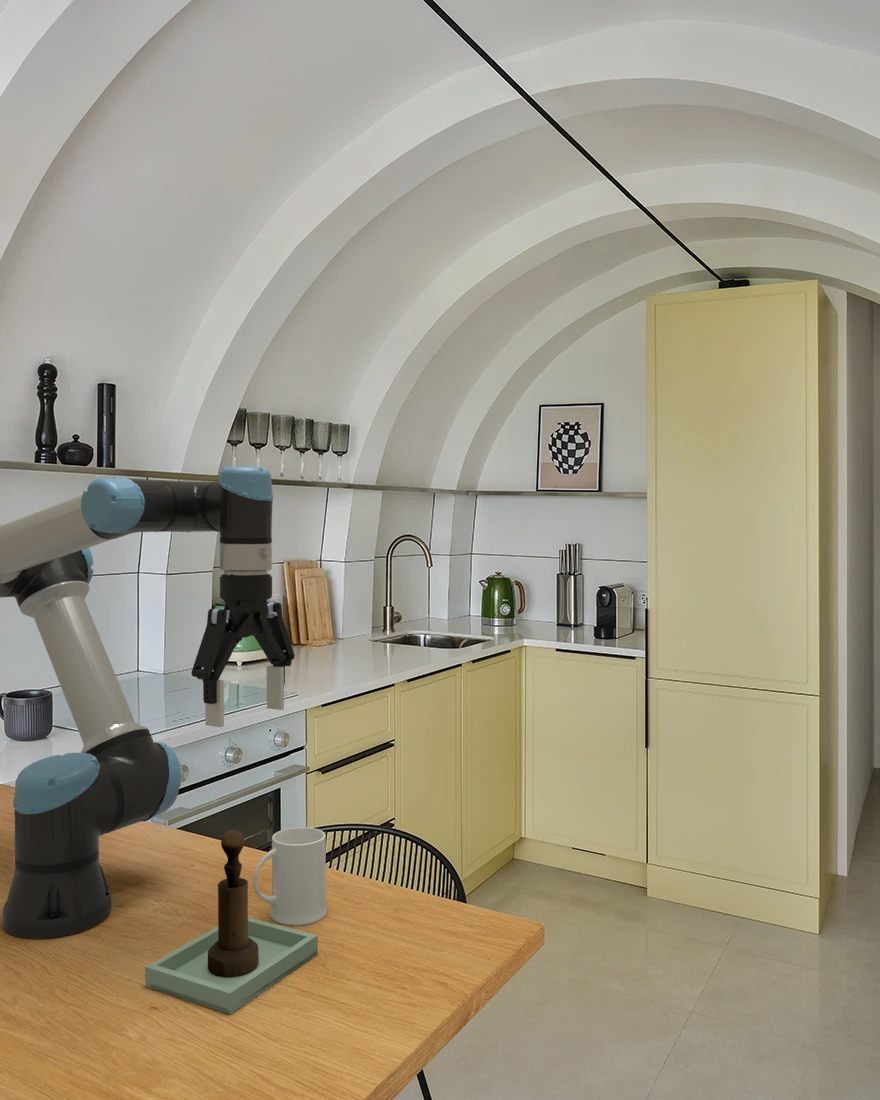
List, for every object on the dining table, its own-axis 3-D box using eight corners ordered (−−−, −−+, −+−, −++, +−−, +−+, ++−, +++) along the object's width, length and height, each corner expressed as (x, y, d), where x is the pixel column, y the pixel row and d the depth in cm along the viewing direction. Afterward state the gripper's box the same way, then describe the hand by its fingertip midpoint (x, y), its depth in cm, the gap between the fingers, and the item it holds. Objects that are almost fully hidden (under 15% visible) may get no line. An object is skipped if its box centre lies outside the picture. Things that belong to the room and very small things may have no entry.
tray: (145, 986, 120) (145, 966, 120) (238, 932, 136) (238, 914, 135) (230, 1014, 113) (230, 993, 113) (317, 953, 129) (317, 935, 129)
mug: (262, 936, 134) (262, 853, 134) (241, 914, 142) (241, 836, 141) (336, 917, 141) (336, 838, 140) (312, 898, 148) (312, 823, 148)
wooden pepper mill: (238, 949, 129) (238, 820, 128) (268, 964, 125) (268, 830, 124) (197, 967, 124) (197, 832, 123) (228, 982, 120) (227, 843, 119)
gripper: (206, 578, 124) (207, 737, 125) (317, 569, 146) (316, 704, 147) (164, 576, 128) (165, 730, 128) (278, 568, 150) (278, 700, 150)
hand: (246, 717), depth 138 cm, fingers open, 13 cm apart
